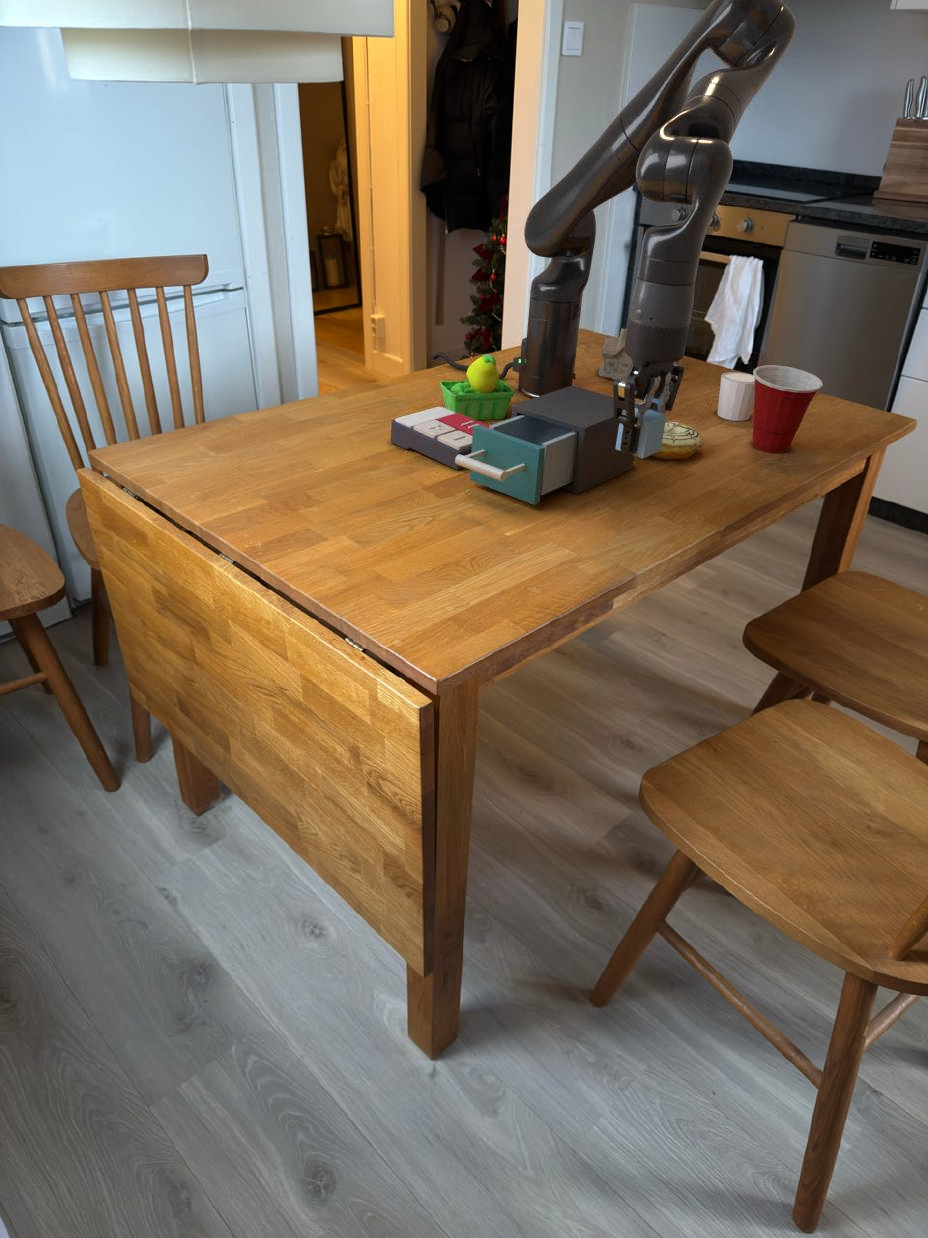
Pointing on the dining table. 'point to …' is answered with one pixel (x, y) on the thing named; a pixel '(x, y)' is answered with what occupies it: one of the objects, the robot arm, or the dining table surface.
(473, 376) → the fruit basket
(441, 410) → the calculator
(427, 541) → the dining table surface
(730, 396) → the white faceted cylinder
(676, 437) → the decorated donut
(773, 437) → the plastic cup
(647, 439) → the blue block
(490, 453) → the drawer
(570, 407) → the cabinet
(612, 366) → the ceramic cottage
